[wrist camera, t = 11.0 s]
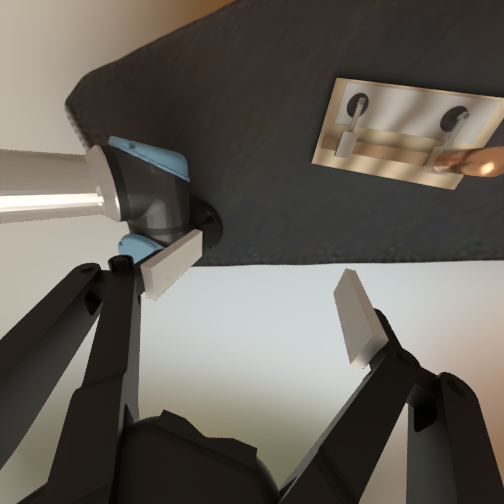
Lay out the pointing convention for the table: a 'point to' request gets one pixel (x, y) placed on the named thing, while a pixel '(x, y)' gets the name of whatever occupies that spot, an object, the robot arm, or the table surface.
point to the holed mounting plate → (400, 129)
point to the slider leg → (464, 157)
